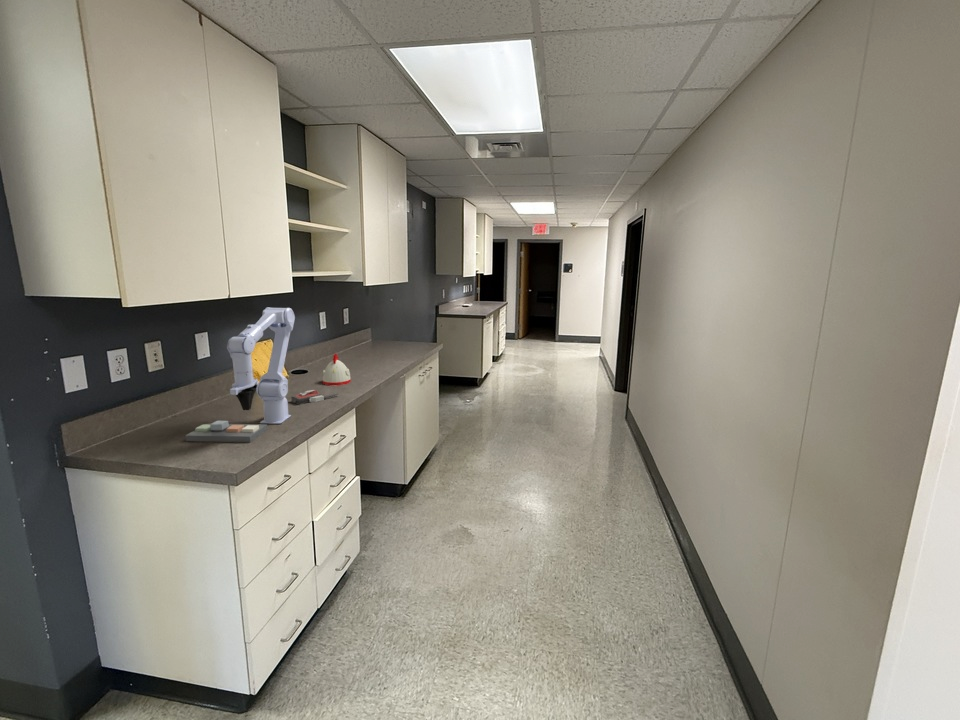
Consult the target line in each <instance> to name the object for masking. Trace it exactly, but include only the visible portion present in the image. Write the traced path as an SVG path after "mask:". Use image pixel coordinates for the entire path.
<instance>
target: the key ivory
mask: <svg viewBox="0 0 960 720" xmlns="http://www.w3.org/2000/svg"><path fill="white" fill-rule="evenodd" d="M258 429H259V425H247V426H246V427H244V428H243V429H242V432H246V433H254V432H255V431H257V430H258Z"/></svg>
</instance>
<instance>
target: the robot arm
mask: <svg viewBox="0 0 960 720" xmlns="http://www.w3.org/2000/svg"><path fill="white" fill-rule="evenodd" d="M295 319H296V316H295V313H294V311H293V309H292V308H290V307H271V306H270V307H268V306H267V307H265V309H263V310H262V316H261V317H260V318H259V320H257V322H256V323H255V324H247V326H246V328H245V329H243V330H242V331H241V332H240V333H239V334H238V335H237V336H232V337H230V338H229V339H228V341H227V345H226V349H227V351H228V353H229V357H230V358H231V359H232V367H233V377H234V382H233V383H232V384H231V387H232V388H230V389H229V393H230V395H231V396H235V397H236V398H237V400H238V401H239V404H240V406H241V408H242V410H243V411H250V410H251V409H252V404H253V398H254V396H255V394H257V396H258V397H259V398H260V400H262V407H263V418H264V419H262V420H261V421H260V422H259V424H265V425H268V424H270V425H271V424H273V425H275V424H277V425H278V424H279V425H280V424H282V423H283V422H285V421H286V420H288V419H289V418H290V417H292V415H291V414H289V406H288V405H289V404H288V399H287V398H286V396H287V394H288V393H289V386H288V385H289V380H288V379H287V377H286V376H285V375H284V374H283V372H284V368H285V363H286V358H287V357H286V355H287V351H288V346H289V342H290V341H289V340H290V336H291V332H292V331H293V329H294V324H295V321H296V320H295ZM268 328H269V329H270V330H271V331H273V332H274V339H273V343H272V348H271V353H270V359H269V363H268V368H267V371H266V373H264V374H262V375H261V376H260V378H259V380H258V378H254V371H253V370H254V369H253V360H252V353H253V352H254V350H255V346H256V345H257V342H258V341H259V340H260V339H262V337H264V331H265V330H267V329H268ZM254 386H256V387H254Z"/></svg>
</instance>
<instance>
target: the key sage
mask: <svg viewBox="0 0 960 720" xmlns="http://www.w3.org/2000/svg"><path fill="white" fill-rule="evenodd" d="M206 424H207V423H205V424H201V425H199V426H197V427H195V431H196V432H208V431H210V430H211V427H210V425H206Z"/></svg>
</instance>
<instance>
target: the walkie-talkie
mask: <svg viewBox="0 0 960 720" xmlns="http://www.w3.org/2000/svg"><path fill="white" fill-rule="evenodd" d="M338 395H339V393H332V394H328V395H322V393H321V392H318V391H317V390H315V389H310V390H306V391H304V392H299V394H296V395H293V396H291V402H292V403H293V404H296V405H302V404H306V403H317V402H322V401H324V400H325V399H328V398H332V397H335V396H338Z"/></svg>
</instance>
